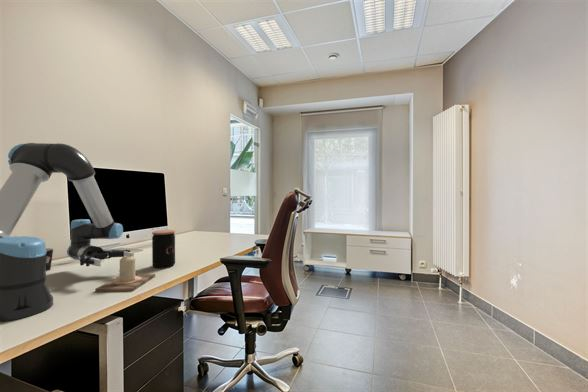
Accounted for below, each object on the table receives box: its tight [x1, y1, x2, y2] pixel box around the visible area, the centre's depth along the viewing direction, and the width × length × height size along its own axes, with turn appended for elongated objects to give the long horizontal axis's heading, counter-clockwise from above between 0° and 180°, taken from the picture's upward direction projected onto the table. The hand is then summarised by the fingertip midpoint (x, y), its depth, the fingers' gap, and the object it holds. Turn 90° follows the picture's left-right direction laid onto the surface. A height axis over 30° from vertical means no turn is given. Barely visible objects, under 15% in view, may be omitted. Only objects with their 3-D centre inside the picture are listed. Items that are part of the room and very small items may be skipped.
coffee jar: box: [151, 229, 176, 269], centre depth 138 cm, size 11×11×18 cm
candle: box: [119, 255, 136, 282], centre depth 111 cm, size 6×6×10 cm
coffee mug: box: [45, 247, 54, 272], centre depth 129 cm, size 12×9×10 cm
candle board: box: [94, 273, 156, 293], centre depth 111 cm, size 18×14×2 cm
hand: (117, 259), depth 115 cm, fingers open, 13 cm apart
